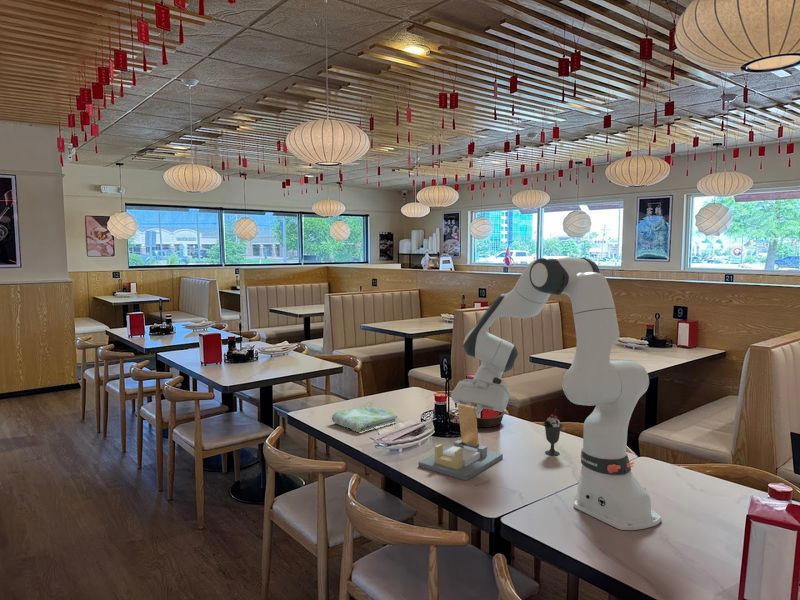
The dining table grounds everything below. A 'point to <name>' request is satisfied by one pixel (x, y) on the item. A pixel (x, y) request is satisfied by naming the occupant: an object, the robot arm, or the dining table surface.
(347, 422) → the towel
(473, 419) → the wooden plank
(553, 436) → the sundae
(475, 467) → the clip base
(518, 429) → the dining table surface
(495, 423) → the dish
